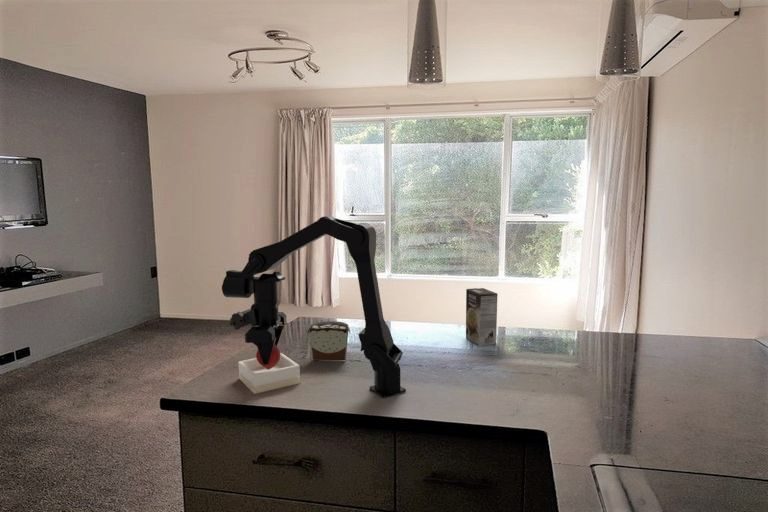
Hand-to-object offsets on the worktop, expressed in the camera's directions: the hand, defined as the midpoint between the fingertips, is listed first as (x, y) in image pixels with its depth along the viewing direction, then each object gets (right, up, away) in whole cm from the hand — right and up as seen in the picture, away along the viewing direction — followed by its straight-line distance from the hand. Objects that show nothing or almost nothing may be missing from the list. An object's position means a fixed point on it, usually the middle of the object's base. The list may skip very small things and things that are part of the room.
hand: (268, 360), depth 121 cm
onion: (0, -3, 0) cm, 3 cm away
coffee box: (+59, -1, +32) cm, 67 cm away
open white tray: (0, -5, +1) cm, 5 cm away
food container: (+14, -3, +18) cm, 23 cm away
